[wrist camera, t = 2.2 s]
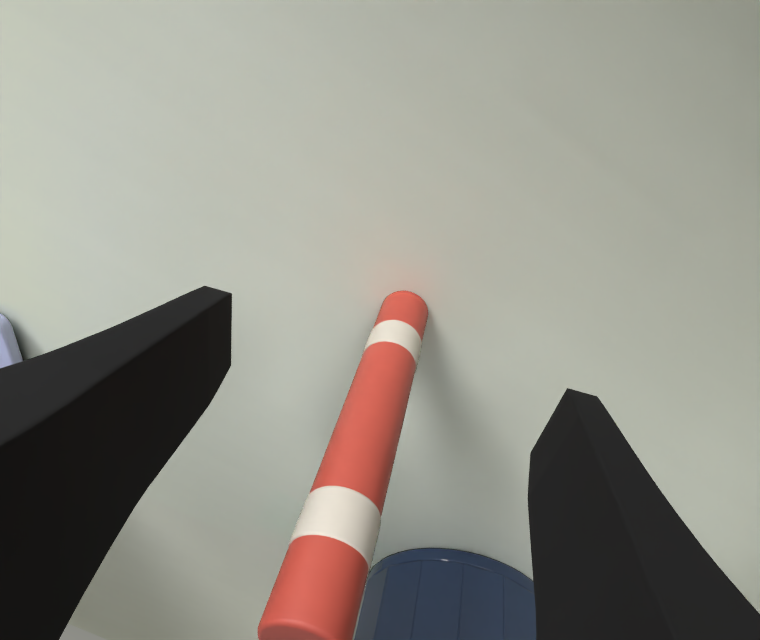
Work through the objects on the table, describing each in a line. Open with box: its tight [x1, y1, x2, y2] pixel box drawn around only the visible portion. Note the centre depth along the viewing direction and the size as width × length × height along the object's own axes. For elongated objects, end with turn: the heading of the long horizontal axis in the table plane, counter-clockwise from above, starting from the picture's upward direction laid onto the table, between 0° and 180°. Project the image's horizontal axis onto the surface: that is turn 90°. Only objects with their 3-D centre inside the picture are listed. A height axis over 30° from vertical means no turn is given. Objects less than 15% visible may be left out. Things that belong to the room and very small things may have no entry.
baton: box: [258, 291, 428, 640], centre depth 9 cm, size 1×1×8 cm
